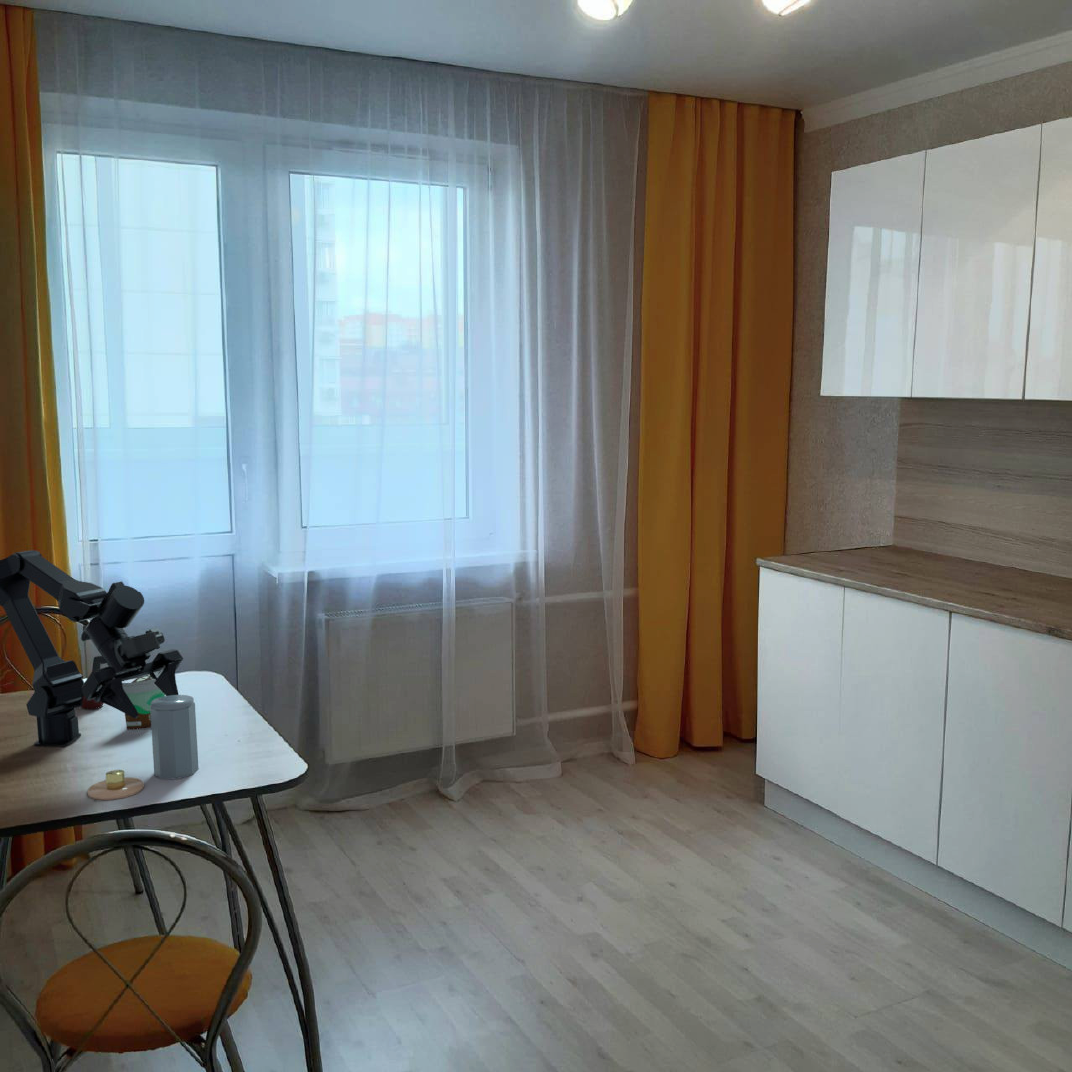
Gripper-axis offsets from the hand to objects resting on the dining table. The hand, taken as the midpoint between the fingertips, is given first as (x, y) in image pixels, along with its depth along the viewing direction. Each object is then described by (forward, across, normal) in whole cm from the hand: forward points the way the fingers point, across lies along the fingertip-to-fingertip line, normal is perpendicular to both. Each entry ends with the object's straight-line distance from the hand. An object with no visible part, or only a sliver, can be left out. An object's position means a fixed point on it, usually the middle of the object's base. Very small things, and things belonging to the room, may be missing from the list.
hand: (157, 709), depth 193 cm
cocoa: (-23, +18, +38) cm, 48 cm away
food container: (-8, +17, +24) cm, 30 cm away
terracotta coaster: (+9, -11, +6) cm, 16 cm away
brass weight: (+9, -11, +6) cm, 16 cm away
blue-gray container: (+10, 0, +5) cm, 12 cm away
